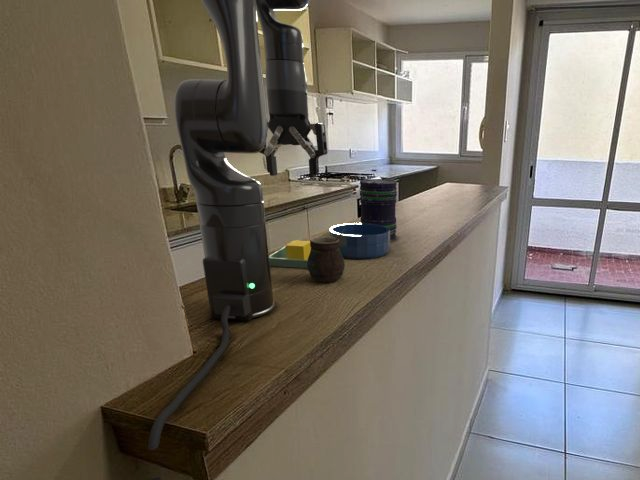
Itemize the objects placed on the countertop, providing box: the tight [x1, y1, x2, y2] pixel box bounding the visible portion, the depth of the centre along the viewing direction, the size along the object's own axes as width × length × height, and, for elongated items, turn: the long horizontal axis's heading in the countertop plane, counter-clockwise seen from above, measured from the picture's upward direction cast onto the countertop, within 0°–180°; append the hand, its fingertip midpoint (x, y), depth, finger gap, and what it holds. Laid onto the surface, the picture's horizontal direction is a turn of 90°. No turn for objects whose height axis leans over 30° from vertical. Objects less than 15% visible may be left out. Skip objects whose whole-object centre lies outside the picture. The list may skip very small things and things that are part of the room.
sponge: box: [285, 239, 311, 260], centre depth 99 cm, size 5×4×4 cm
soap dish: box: [269, 246, 308, 269], centre depth 99 cm, size 10×11×2 cm
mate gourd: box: [307, 229, 346, 283], centre depth 86 cm, size 7×8×10 cm
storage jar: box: [359, 169, 398, 242], centre depth 119 cm, size 10×10×18 cm
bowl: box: [329, 222, 391, 260], centre depth 107 cm, size 14×14×6 cm
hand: (293, 176), depth 92 cm, fingers open, 8 cm apart
